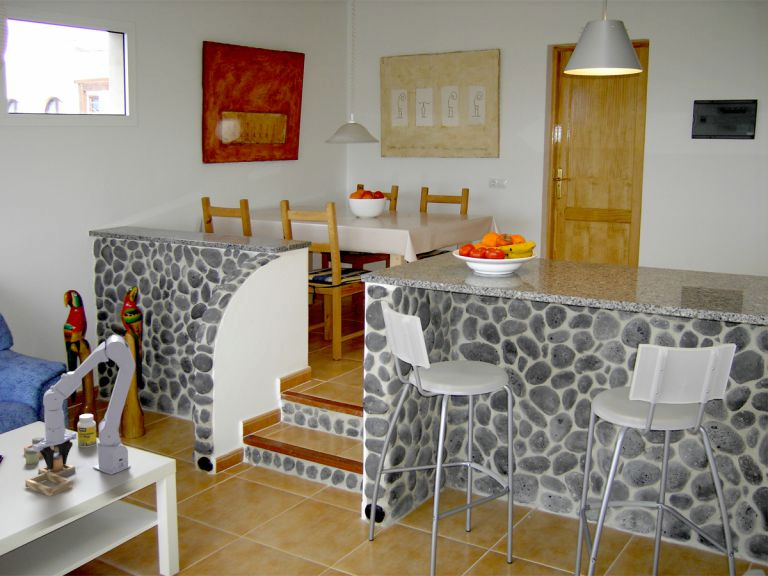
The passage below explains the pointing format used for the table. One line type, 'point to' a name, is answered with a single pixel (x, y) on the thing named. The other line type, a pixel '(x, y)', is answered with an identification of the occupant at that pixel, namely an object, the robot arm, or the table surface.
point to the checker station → (51, 476)
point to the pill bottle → (86, 431)
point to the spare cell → (31, 456)
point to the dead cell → (37, 440)
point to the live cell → (57, 462)
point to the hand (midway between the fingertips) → (56, 466)
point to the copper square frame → (38, 452)
